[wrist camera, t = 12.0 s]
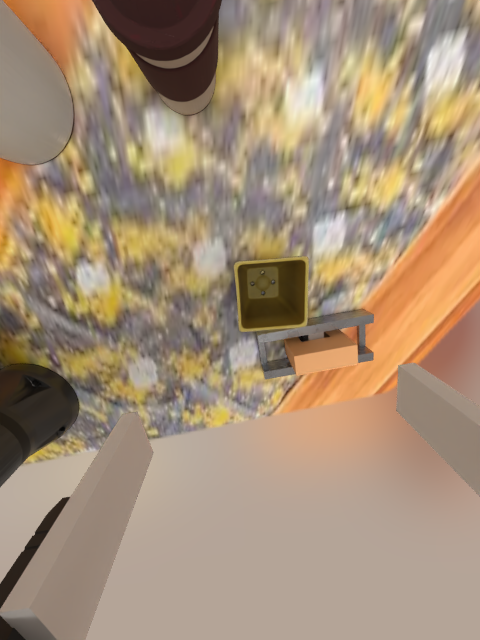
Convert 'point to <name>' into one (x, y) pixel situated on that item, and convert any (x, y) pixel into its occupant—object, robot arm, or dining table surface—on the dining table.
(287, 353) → the brown notched block
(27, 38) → the utensil holder
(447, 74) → the dining table surface
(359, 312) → the rail
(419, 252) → the dining table surface
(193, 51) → the coffee cup
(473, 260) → the dining table surface
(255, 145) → the dining table surface
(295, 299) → the flower pot
